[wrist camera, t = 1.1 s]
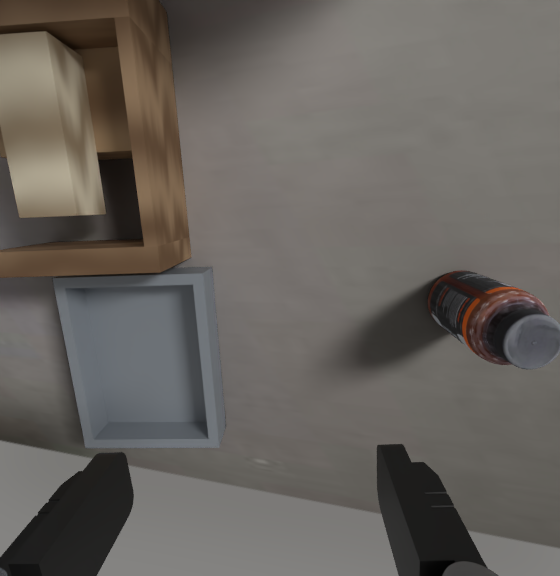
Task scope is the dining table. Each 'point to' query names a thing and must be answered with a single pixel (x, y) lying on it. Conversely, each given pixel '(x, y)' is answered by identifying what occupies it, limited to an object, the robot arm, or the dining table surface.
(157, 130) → the open wooden box frame
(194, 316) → the tray
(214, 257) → the dining table surface
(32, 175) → the slab
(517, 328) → the supplement bottle
